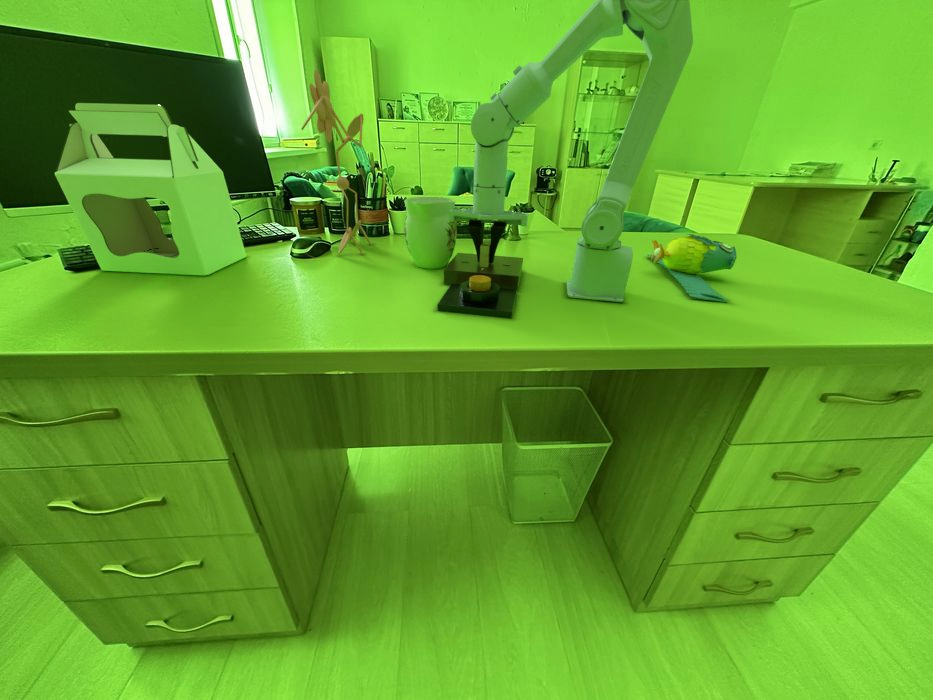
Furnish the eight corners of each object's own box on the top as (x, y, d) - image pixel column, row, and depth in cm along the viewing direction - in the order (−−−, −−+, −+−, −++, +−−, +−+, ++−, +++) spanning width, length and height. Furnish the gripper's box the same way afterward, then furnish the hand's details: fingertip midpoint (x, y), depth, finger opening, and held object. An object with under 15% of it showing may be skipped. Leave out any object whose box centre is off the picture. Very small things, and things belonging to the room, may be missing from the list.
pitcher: (461, 253, 89) (462, 192, 82) (451, 277, 74) (451, 204, 67) (416, 250, 90) (414, 190, 83) (397, 274, 75) (392, 202, 68)
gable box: (99, 271, 72) (15, 99, 58) (154, 252, 84) (94, 105, 70) (208, 276, 71) (148, 102, 57) (248, 257, 82) (206, 108, 68)
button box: (516, 295, 66) (518, 279, 64) (511, 318, 58) (513, 300, 56) (451, 289, 68) (451, 273, 66) (437, 311, 59) (437, 293, 58)
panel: (521, 271, 78) (523, 256, 76) (517, 291, 68) (519, 275, 66) (457, 266, 80) (457, 251, 79) (443, 284, 70) (443, 268, 68)
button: (491, 285, 63) (492, 276, 62) (488, 293, 60) (489, 283, 59) (471, 284, 63) (471, 274, 62) (467, 291, 60) (467, 281, 59)
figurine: (381, 237, 101) (366, 81, 84) (358, 265, 79) (331, 60, 62) (325, 235, 101) (299, 79, 84) (286, 263, 79) (239, 57, 61)
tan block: (483, 258, 75) (484, 237, 73) (491, 259, 75) (492, 238, 72) (479, 266, 70) (480, 244, 68) (487, 267, 70) (488, 245, 68)
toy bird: (640, 218, 86) (708, 223, 85) (630, 255, 90) (695, 260, 89) (686, 249, 62) (782, 257, 61) (669, 297, 66) (758, 305, 65)
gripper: (444, 186, 63) (444, 264, 70) (529, 190, 61) (521, 270, 68) (453, 182, 69) (453, 254, 76) (531, 186, 67) (523, 259, 74)
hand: (485, 261), depth 72 cm, fingers closed on tan block, 2 cm apart
